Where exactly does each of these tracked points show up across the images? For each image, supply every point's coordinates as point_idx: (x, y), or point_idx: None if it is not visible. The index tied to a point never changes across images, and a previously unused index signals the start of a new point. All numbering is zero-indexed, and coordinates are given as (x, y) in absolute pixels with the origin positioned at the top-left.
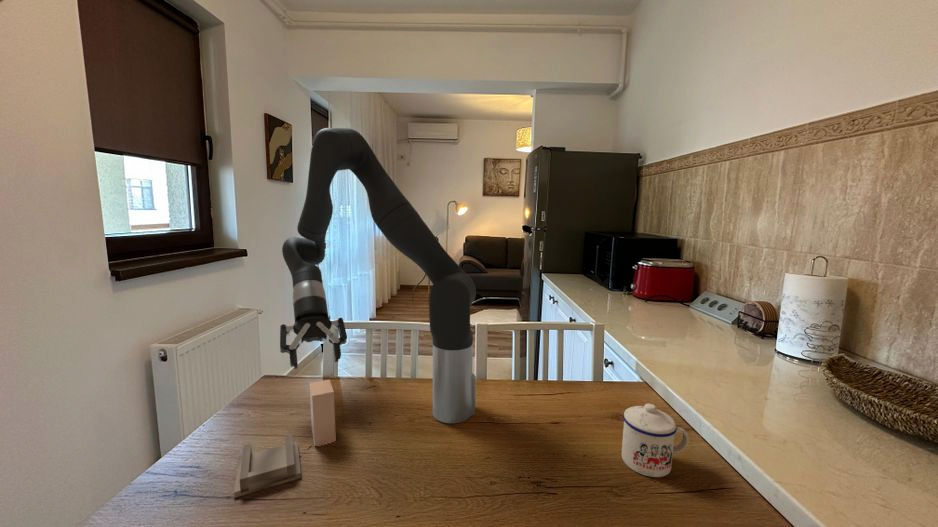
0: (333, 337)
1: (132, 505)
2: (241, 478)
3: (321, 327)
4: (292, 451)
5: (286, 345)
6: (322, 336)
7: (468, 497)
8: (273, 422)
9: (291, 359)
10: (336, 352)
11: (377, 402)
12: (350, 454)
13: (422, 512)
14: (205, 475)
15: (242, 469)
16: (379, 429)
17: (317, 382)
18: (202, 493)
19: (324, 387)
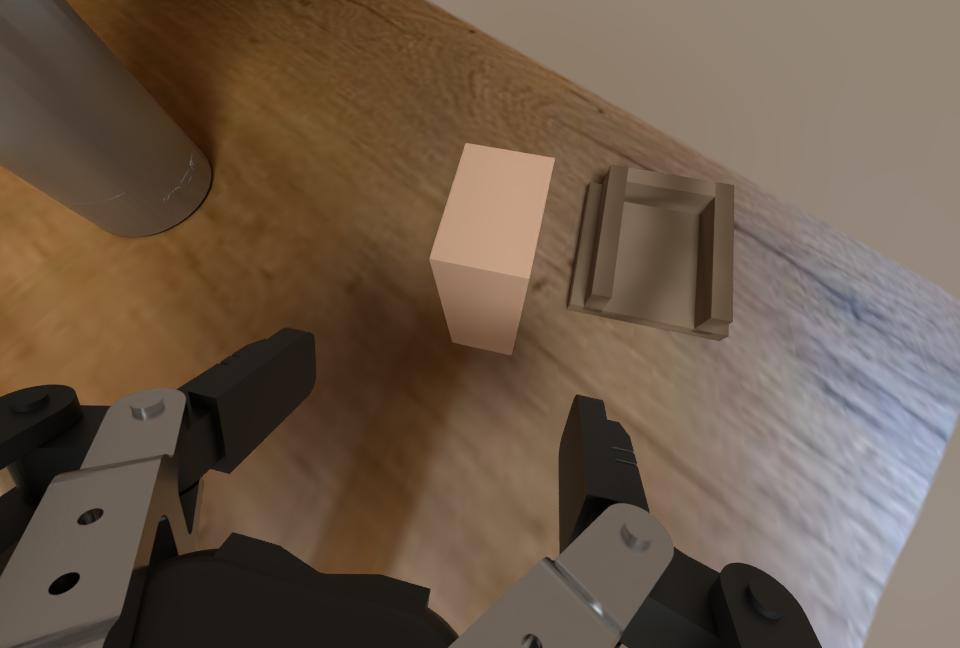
0: (130, 446)
1: (943, 325)
2: (730, 186)
3: (62, 641)
4: (606, 210)
5: (708, 619)
6: (213, 551)
7: (360, 3)
8: None
9: (621, 452)
10: (267, 348)
11: None
12: None
13: (437, 18)
14: (798, 335)
15: (729, 215)
16: (351, 243)
17: (492, 262)
18: (792, 270)
19: (483, 196)
